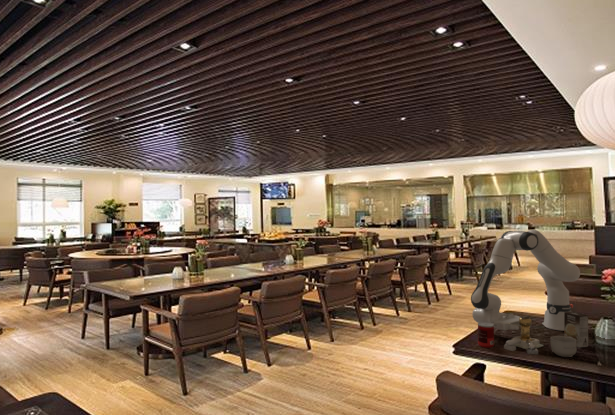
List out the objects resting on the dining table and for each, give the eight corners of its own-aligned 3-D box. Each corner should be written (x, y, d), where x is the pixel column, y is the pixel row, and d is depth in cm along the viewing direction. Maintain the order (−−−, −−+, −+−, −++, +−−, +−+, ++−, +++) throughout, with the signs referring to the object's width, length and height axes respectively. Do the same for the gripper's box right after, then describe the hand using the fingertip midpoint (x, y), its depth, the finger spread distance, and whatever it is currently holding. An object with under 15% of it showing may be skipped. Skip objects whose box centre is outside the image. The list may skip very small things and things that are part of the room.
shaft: (523, 348, 213) (523, 339, 213) (533, 348, 212) (533, 339, 212) (528, 353, 205) (528, 344, 205) (538, 354, 204) (538, 345, 204)
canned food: (493, 344, 220) (493, 322, 220) (494, 348, 213) (494, 326, 213) (477, 342, 223) (477, 321, 223) (478, 347, 215) (478, 325, 215)
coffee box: (563, 342, 222) (563, 311, 222) (573, 341, 224) (572, 310, 224) (579, 347, 213) (579, 315, 214) (589, 346, 215) (588, 314, 215)
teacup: (566, 360, 196) (566, 342, 196) (545, 353, 206) (544, 336, 206) (586, 356, 202) (586, 339, 202) (564, 349, 211) (564, 333, 212)
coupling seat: (521, 340, 226) (521, 331, 226) (543, 346, 216) (543, 337, 216) (497, 346, 216) (497, 337, 216) (519, 353, 206) (519, 344, 206)
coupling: (523, 341, 222) (523, 314, 222) (534, 344, 217) (533, 316, 217) (517, 343, 219) (516, 315, 219) (527, 346, 214) (527, 318, 215)
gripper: (488, 317, 225) (512, 323, 213) (511, 312, 236) (536, 318, 224) (488, 329, 225) (512, 336, 213) (511, 324, 236) (536, 330, 224)
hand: (524, 326), depth 218 cm, fingers open, 8 cm apart
